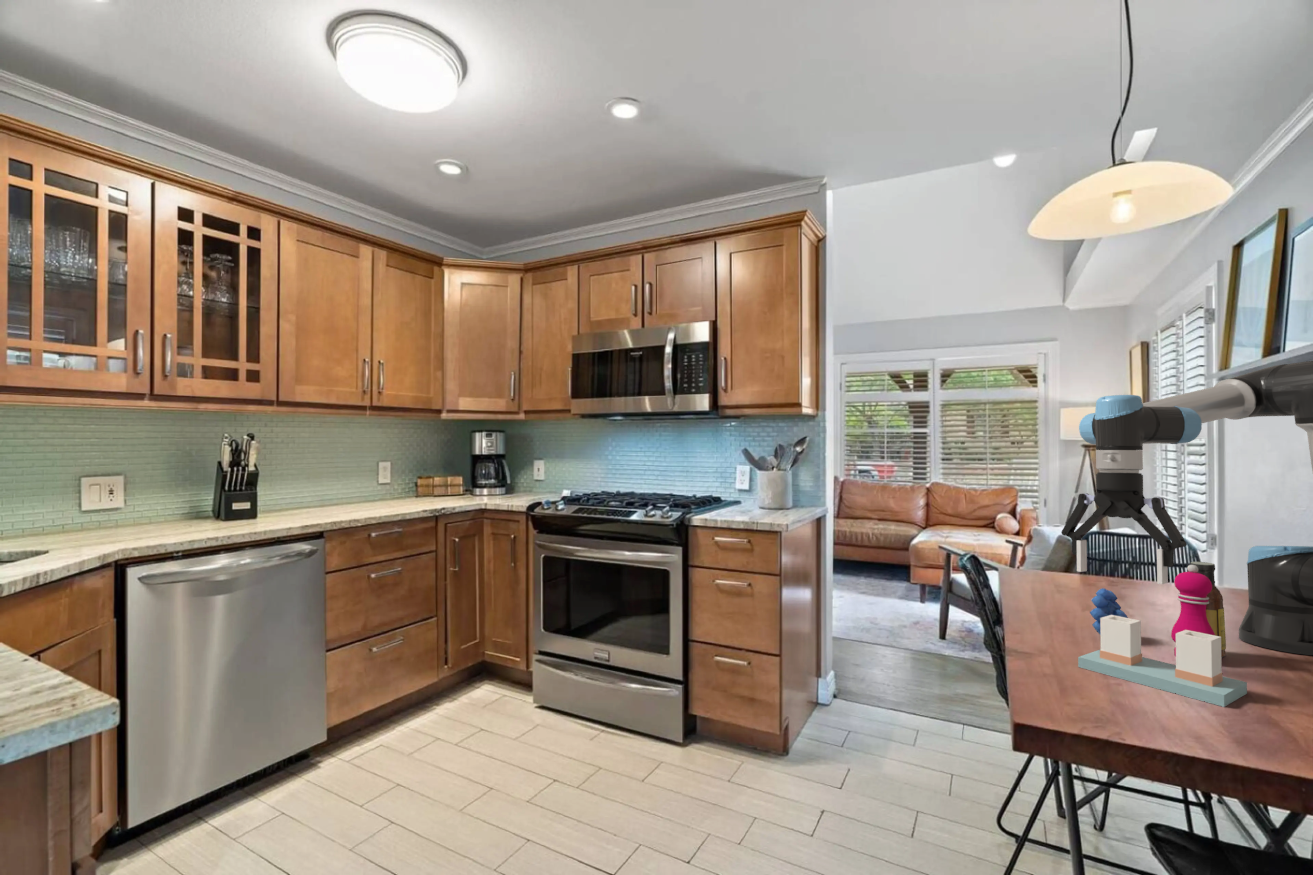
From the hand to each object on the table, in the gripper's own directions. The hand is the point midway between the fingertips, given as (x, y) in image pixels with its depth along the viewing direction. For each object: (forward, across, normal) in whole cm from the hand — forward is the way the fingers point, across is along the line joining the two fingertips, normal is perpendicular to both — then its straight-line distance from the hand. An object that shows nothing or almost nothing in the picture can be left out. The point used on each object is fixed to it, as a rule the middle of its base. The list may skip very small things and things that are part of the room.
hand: (1120, 577), depth 119 cm
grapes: (+19, -10, +22) cm, 31 cm away
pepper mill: (+19, +5, +22) cm, 29 cm away
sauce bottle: (+19, +5, +29) cm, 35 cm away
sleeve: (+16, 0, 0) cm, 16 cm away
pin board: (+18, +6, 0) cm, 19 cm away
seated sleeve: (+16, +12, 0) cm, 20 cm away
